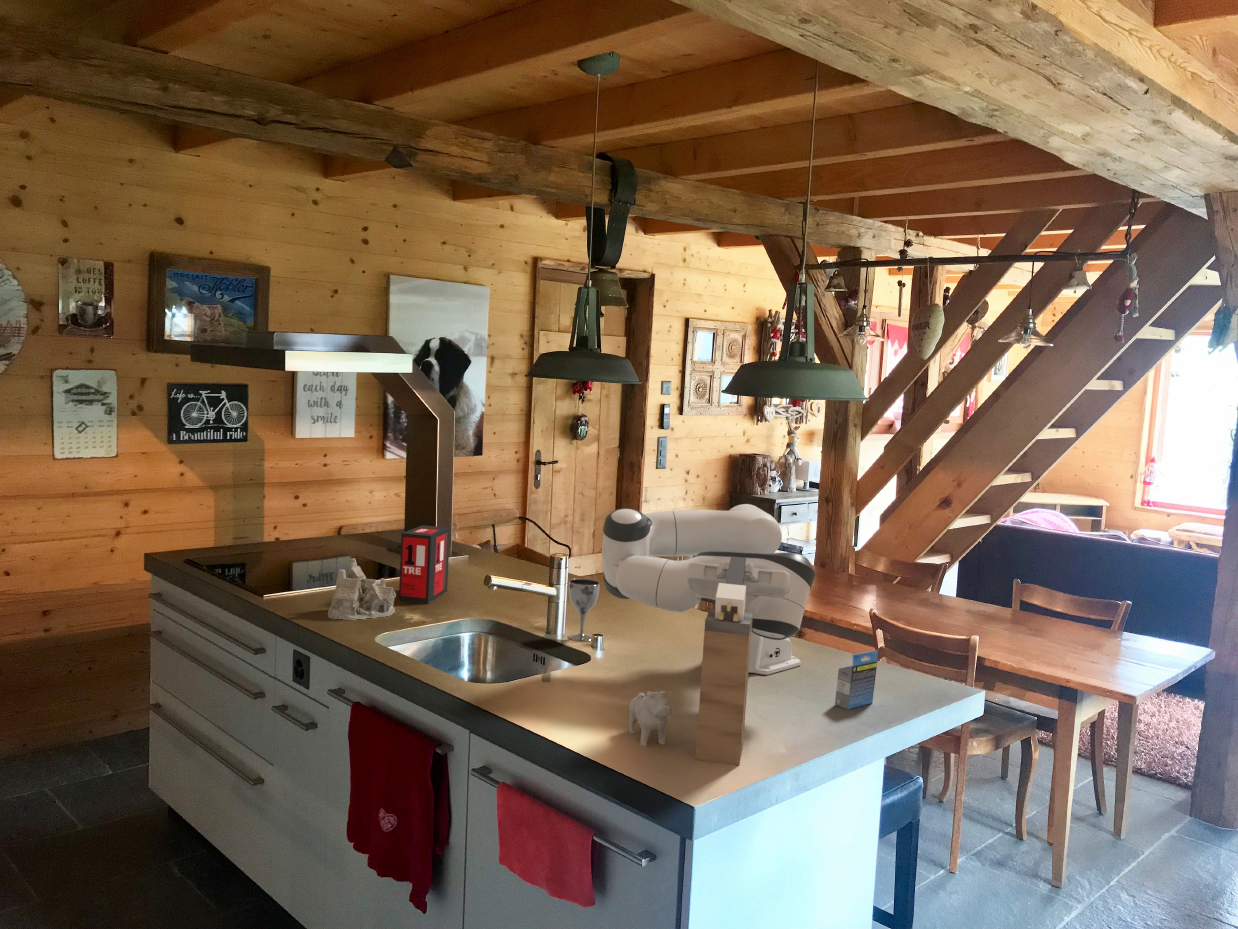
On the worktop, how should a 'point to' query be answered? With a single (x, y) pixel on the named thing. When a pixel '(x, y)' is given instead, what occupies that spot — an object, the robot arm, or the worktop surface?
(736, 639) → the stand
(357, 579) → the ceramic cottage
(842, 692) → the label tape box
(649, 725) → the grey animal figure
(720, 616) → the plug
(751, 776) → the worktop surface
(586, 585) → the wine glass
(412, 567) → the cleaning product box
